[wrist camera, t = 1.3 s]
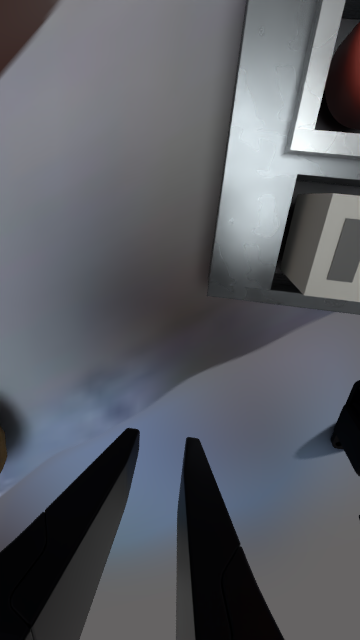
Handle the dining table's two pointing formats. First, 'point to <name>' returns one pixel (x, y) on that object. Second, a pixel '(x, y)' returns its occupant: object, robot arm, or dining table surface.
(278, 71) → the grey flat box
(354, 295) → the on key
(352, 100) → the button
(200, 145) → the dining table surface
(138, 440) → the robot arm
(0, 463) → the potato
